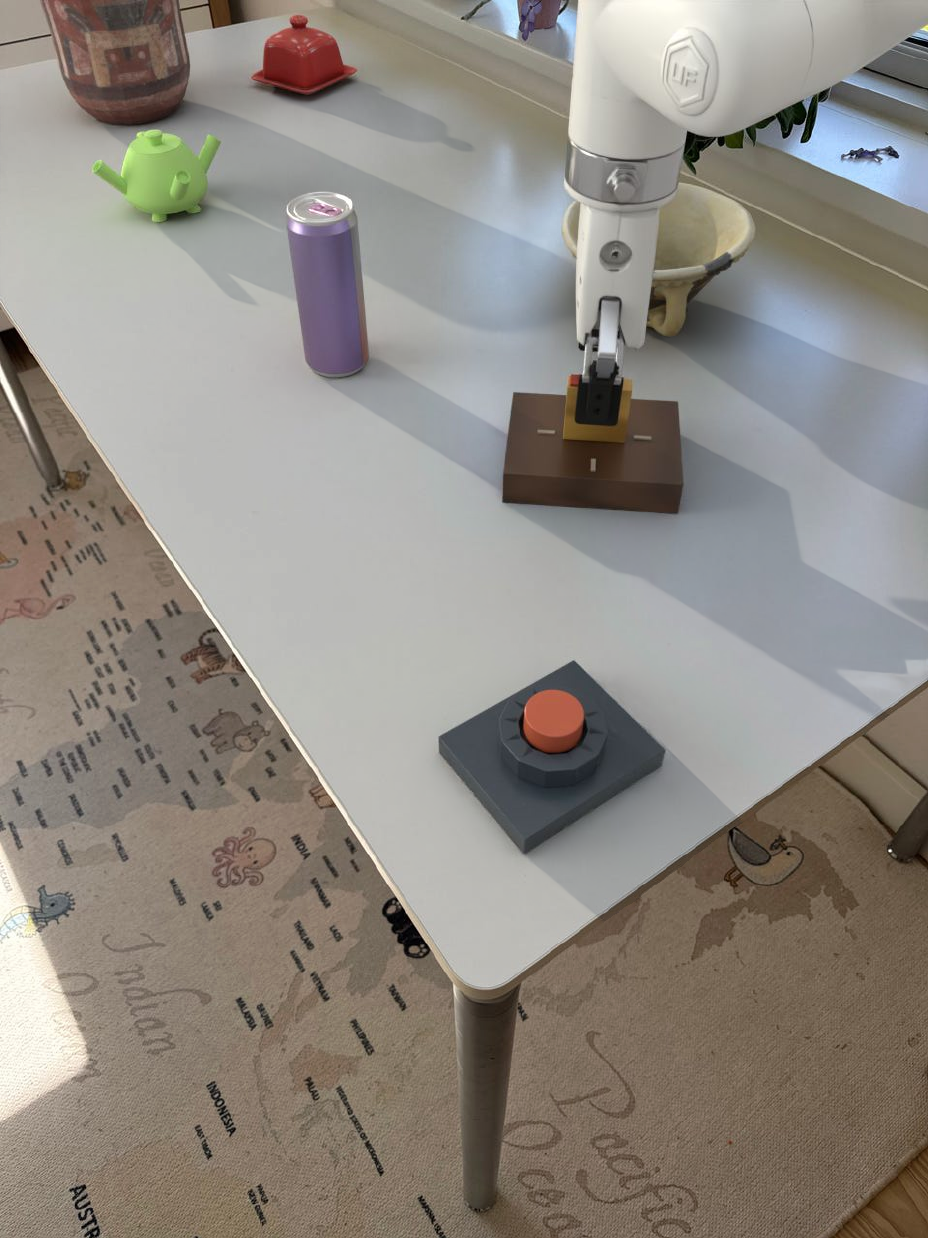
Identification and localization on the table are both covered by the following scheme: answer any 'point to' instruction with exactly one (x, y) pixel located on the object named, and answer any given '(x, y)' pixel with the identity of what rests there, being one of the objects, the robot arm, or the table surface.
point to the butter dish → (302, 59)
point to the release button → (553, 721)
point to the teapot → (162, 174)
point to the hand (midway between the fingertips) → (596, 384)
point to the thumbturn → (595, 431)
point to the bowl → (685, 249)
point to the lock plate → (593, 458)
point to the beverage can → (328, 282)
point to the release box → (549, 759)
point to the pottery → (121, 56)
